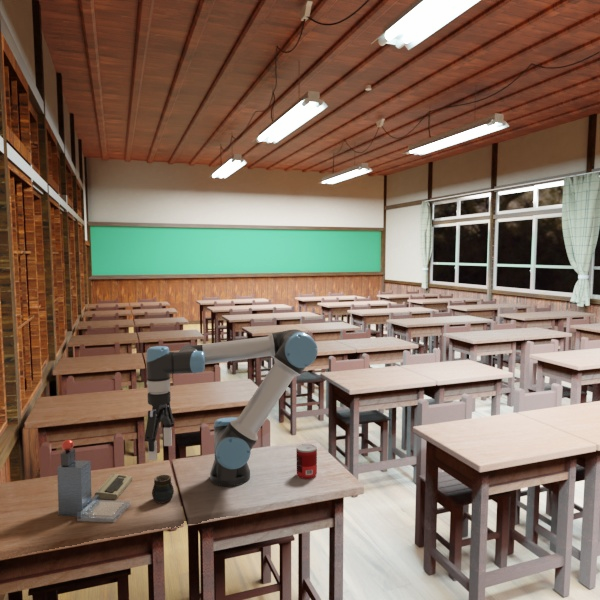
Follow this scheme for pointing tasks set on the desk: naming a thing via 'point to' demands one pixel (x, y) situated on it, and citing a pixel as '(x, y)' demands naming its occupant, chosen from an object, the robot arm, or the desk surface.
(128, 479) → the computer
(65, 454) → the lever
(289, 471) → the desk surface
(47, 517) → the desk surface
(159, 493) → the mate gourd
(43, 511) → the desk surface
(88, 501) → the press
